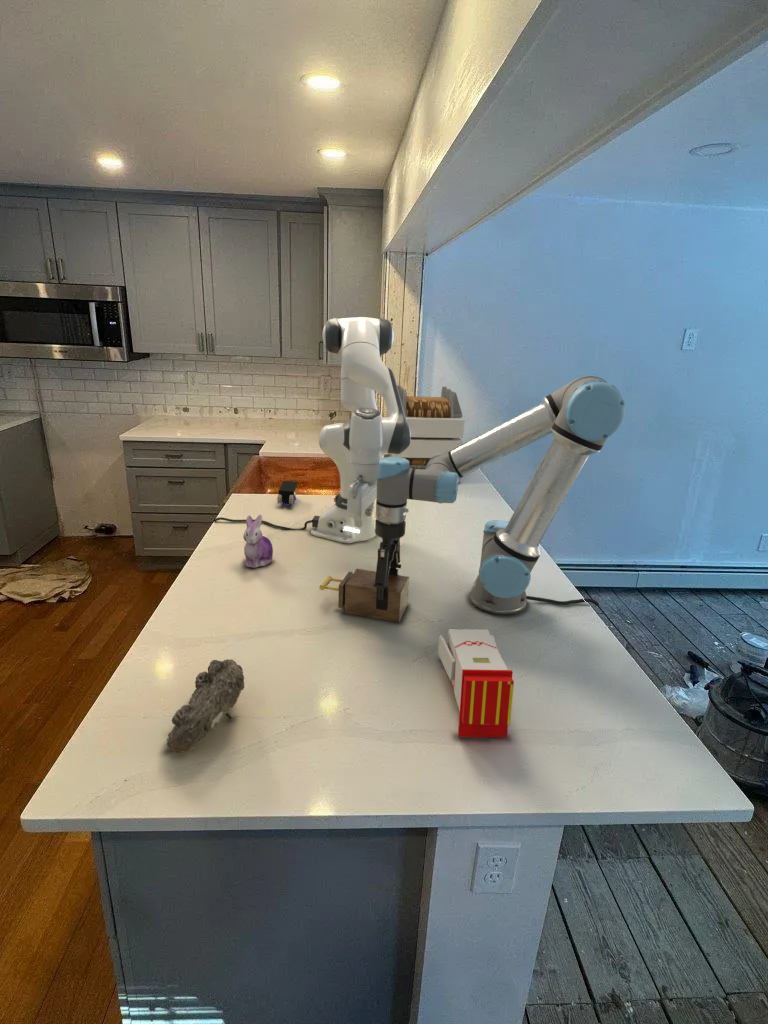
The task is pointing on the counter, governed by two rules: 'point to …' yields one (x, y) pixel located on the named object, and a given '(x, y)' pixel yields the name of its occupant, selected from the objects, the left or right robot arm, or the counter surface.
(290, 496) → the figurine character
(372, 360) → the left robot arm
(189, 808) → the counter surface
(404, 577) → the wooden drawer cabinet
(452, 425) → the transformer
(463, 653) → the toy
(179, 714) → the fossil
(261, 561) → the figurine
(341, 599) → the drawer
